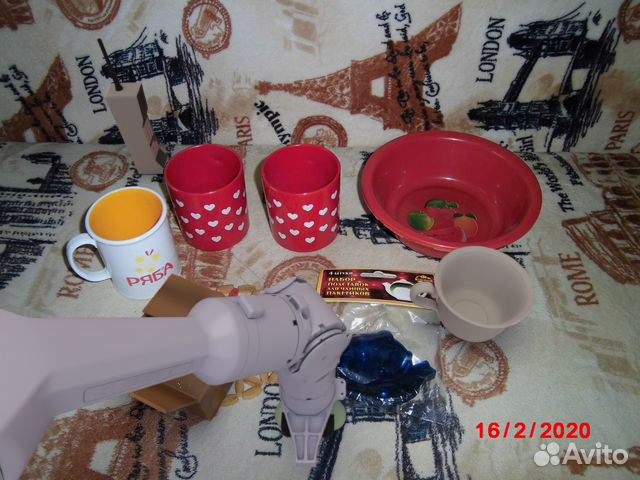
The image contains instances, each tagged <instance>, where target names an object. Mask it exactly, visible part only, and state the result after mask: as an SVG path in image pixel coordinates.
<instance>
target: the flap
mask: <svg viewBox="0 0 640 480" xmlns="http://www.w3.org/2000/svg"><path fill="white" fill-rule="evenodd" d="M126 395H128V396H130V397H132V398H134V399H136V400H137V401H139V402H141V403H142V404H145V405H147V406H149V407H151V408H153V409H155V410H157V411H159V412H160V413H163V414H169V413H171V412H175V411H178V410H180V409H183V408H184V407H187V406H190V405H192V404H195V403H197V399H195V398H193V397H191V396H189V395H187V394H185V393H183V392H181V391H179V390H177V389H175V388H173V387H171V386H169V385H167V384H165V383H163V382H162V383H159V384H156V385H152V386H149V387H146V388H143V389H140V390H136V391H133V392H130V393H127V394H126ZM184 409H185V408H184Z"/></svg>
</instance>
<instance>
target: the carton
mask: <svg viewBox="0 0 640 480" xmlns="http://www.w3.org/2000/svg"><path fill="white" fill-rule="evenodd" d="M215 297H229V296H228V295H225V294H222V293H220V292H218V291H215V290H213V289H211V288H208V287H205V286H203V285H201V284H198V283H196V282H194V281H191V280H189V279H186V278H184V277H182V276H179V275H178V274H174V273H171V274H170V275H169V276H168V277H167V279H166V280H165V281H164V282H163V284H162V285H161V286H160V288H159V289H158V290H157V291H156V293H155V294H153V296H152V298H151V299H150V300H149V301H148V303H147V304H146V305H145V307H144V308H143V309H142V310H141V312H142V313H143V314H142V316H141V317H187V316H188V314H189V313H190V311H191V310H192V308H193V307H194V306H195V305H196V304H197V303H198V302H200V301H201V300H203V299H206V298H215ZM163 383H165V384H167V385H169V386H171V387H173V388H175V389H177V390H179V391H181V392H183V393H185V394H187V395H189V396H191V397H193V398H195V399H197V403H195V404H192V405H190V406H187V407H184V409H185V410H187V411H190V412H192V413H193V414H195V415H198V416H200V417H201V418H204V419H205V420H207V421H209V422H212V420H213V418H214V416H215V415H216V413H217V411H218V410H219V408H220V406H221V405H222V403H223V401H224V399H225V398H226V396H227V394H228V393H229V392H230V389H231V388H232V386H233V384H234V383H235V381H233V382H229V383H224V384H221V385H209V384H206V383H204V382H202V381H201V380H200V379H198V378H197V377H196V376H195V375H194V373H191V374H188V375H184V376H181V377H178V378H175V379H172V380H168V381H165V382H163ZM178 383H179V384H180V385H179V384H178ZM189 385H190V386H189ZM180 387H181V388H180Z"/></svg>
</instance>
